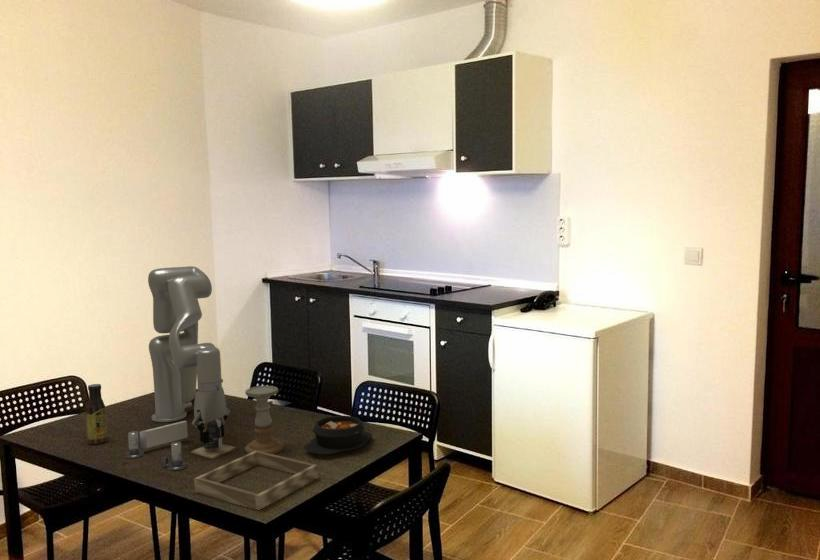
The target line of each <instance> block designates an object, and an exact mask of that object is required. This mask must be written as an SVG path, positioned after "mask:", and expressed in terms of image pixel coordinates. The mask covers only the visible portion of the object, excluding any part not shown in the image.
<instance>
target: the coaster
mask: <svg viewBox="0 0 820 560" xmlns="http://www.w3.org/2000/svg"><path fill="white" fill-rule="evenodd" d="M236 449H237V448H236V446H233V445H228V444H224V443H222V446H221V447H220V448H217V449H212V450H209V449H205V448H204V446H201V447H198V448H195V449H193V450H191V451H190V454H192V455H196V456H200V457H202V458H203V457H204V458H207V459H212V460H213V459H216V458H218V457H220V456H222V455H224V454H226V453H229V452H231V451H234V450H236Z"/></svg>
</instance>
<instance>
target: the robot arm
mask: <svg viewBox="0 0 820 560" xmlns="http://www.w3.org/2000/svg"><path fill="white" fill-rule="evenodd" d="M208 276H209V275H207V274H206V273H205V272H204V271H202V269H200V268H199V267H196V266H191V265H190V266H175V267H173V266H172V267H163V268H162V267H160V268H155V269H153V270H151V271H150V272H149V273H148V276H147V277H148V278H147V283H148V287H149V289H150V293H151V295H152V301H153V302H152V311H153V313H152V314H153V315H152V317H153V319H152V321H153V322H152V323H153V329H154V331H155V332H156V333H158V334H162V335H158V336H155V337H152V339H150V341H149V343H148V351H149V355H150V356H149V357H150V360H151V366H152V375H153V378H152V379H153V389H154V390H153V393H154V406H155V407H154V408H155V409H154V410H155V412H154V413H153V414H152V415H151V420H152V421H153V422H156V423H157V422H158V423H169V422H170V423H171V422H176V421H180V420H182V419H185V418H186V417H187V415H188V414H187V411H185V410H186V409H187V408H191V407H192V406H193V403H192V401H190V402H188V403H184V402H183V403H182V399H181V382H180V371H179V369H188V368H193V367H197V382H196V384H197V390H196V393H195V397H194V406H193V413H194V415H193V420H192V422H191V425H192V426H193V427H195V428H196V430H197V431H198V432H199V440H200V443H202V444H203V443H206V444H207V443H209V436H208V431H207V427H208V422H211V421H213V420H216V419H220V420H221V429H222V438H225V425H226V421H227V419H228V416H229V415H230V413H231V410H230V409H229V408H228V406H227V400H226V394H225V391H224V387H223V383H224V380H223V378H222V363H221V360H222V359H221V351H220V349H219V348H217V346H215V344H213V343H212V342H204V343H199V321H200V320H201V318H202V316H203V313H202V310H201V306H200V303H199V299H207V298H209V297H210V296H211V295H212V292H213V287H212V282H211V280H210V278H209V277H208ZM163 334H164V335H163ZM172 360H173V362H174V363H173V362H172ZM203 423H204V427H203Z"/></svg>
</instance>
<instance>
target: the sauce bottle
mask: <svg viewBox="0 0 820 560" xmlns="http://www.w3.org/2000/svg"><path fill="white" fill-rule="evenodd" d="M87 390H88V400H87V403H86V406H85V420H86V421H85V422H86V438H87V443H88V444H89V445H99V444H102V443H103V444H104V443H105V442H107V440H108V438H107V437H108V426H107V425H108V424H107V423H108V422H107V408H106V404H105V403H104V400H103V398H102V384H100V383H92V384H89V385H87Z"/></svg>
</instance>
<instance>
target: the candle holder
mask: <svg viewBox="0 0 820 560" xmlns="http://www.w3.org/2000/svg"><path fill="white" fill-rule="evenodd" d="M278 393H279V388H278V387H276V386H273V385H258V386H253V387H250V388H249V387H248V388H247V389H245V395H246V396H247V397H250V398H254V400H256V405H255V406H254V410H256V415H255V419H254V424H255V426H256V427H255V428H254V433H255V434H256V439H253V440H252V441H250V442H249V443H248V444H246V445H245V448H244V451H245V454H246V455H247V454H249V453H251V452H254V451H260V452H264V453H269V454H273V455H276V454H278V453H281V452H282V451H283V449H284V443H283V442H282V441H280V440H278V439H277V438H274V437H272V431H273V430H274V428H273V427H272V426H271V424H272V423H273V420H272V417H271V414H270V408H271V405H270V404H269V401H268V400H269V399H270V398H271V397H272V396H275V395H277V394H278Z"/></svg>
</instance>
